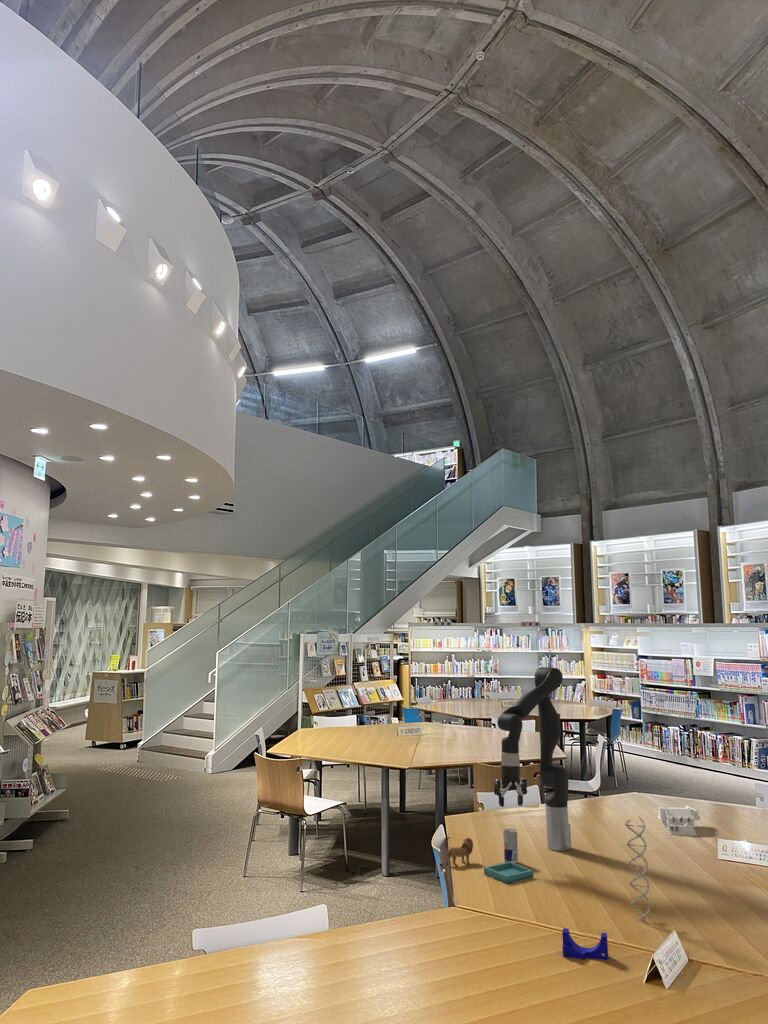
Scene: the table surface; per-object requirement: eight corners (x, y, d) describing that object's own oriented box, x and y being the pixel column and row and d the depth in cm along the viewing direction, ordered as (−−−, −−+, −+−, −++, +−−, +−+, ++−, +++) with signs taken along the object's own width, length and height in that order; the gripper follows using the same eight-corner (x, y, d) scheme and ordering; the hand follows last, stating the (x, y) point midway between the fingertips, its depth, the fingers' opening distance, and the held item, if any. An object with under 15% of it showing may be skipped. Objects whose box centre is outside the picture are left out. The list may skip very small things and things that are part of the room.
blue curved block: (563, 957, 197) (561, 934, 198) (564, 950, 201) (563, 928, 203) (607, 963, 193) (606, 939, 195) (608, 956, 198) (607, 933, 199)
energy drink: (503, 860, 284) (501, 828, 286) (516, 860, 284) (514, 828, 286) (506, 864, 279) (505, 832, 281) (519, 864, 279) (518, 832, 281)
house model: (666, 835, 319) (664, 812, 321) (657, 824, 339) (655, 802, 341) (710, 837, 316) (708, 813, 318) (698, 825, 336) (696, 803, 337)
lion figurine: (467, 859, 286) (466, 835, 288) (476, 862, 282) (476, 838, 284) (441, 866, 277) (440, 842, 279) (450, 869, 273) (450, 844, 275)
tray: (510, 868, 274) (509, 861, 274) (533, 877, 263) (533, 870, 264) (484, 874, 267) (483, 867, 268) (506, 884, 256) (506, 876, 257)
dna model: (636, 912, 229) (630, 814, 234) (655, 918, 224) (648, 817, 230) (626, 918, 224) (620, 818, 229) (646, 923, 220) (639, 821, 225)
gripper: (519, 762, 296) (520, 803, 293) (490, 763, 291) (490, 805, 287) (530, 764, 289) (530, 806, 286) (500, 765, 284) (500, 808, 281)
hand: (510, 805), depth 287 cm, fingers open, 8 cm apart
